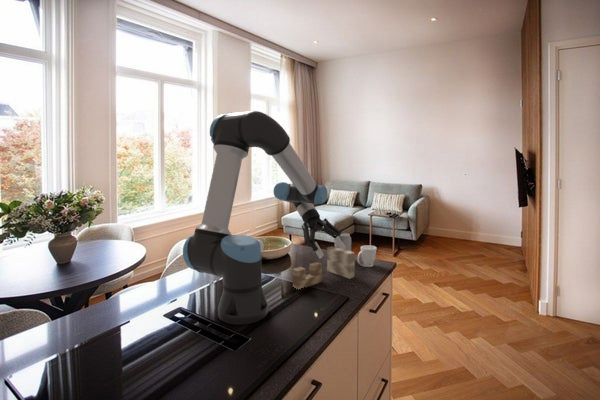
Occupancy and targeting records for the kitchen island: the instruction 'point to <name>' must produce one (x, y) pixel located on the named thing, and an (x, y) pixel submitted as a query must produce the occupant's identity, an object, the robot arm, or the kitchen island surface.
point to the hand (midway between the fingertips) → (333, 253)
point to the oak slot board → (307, 276)
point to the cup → (367, 255)
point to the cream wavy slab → (340, 262)
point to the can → (345, 241)
